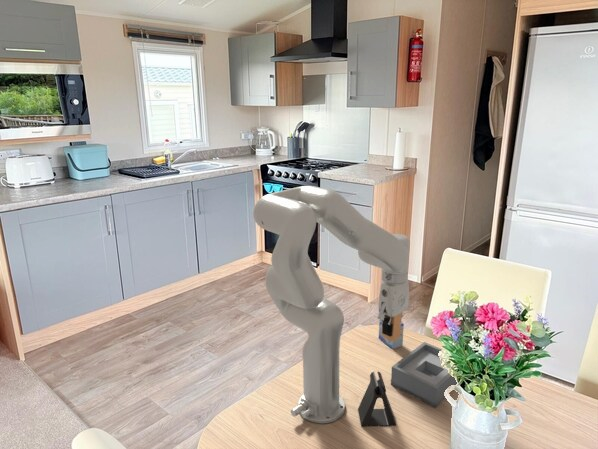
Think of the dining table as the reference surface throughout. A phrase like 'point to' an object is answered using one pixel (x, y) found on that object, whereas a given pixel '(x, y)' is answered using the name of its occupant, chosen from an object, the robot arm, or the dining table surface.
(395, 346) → the medicine box
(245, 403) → the dining table surface
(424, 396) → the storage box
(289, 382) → the dining table surface
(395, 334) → the peg
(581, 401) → the dining table surface
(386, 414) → the black triangular stand
